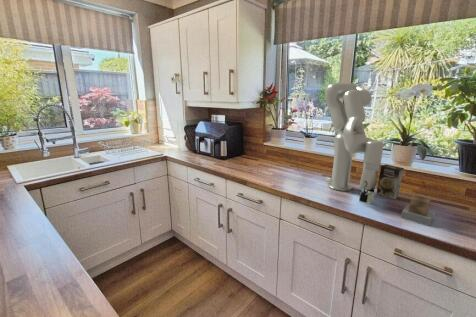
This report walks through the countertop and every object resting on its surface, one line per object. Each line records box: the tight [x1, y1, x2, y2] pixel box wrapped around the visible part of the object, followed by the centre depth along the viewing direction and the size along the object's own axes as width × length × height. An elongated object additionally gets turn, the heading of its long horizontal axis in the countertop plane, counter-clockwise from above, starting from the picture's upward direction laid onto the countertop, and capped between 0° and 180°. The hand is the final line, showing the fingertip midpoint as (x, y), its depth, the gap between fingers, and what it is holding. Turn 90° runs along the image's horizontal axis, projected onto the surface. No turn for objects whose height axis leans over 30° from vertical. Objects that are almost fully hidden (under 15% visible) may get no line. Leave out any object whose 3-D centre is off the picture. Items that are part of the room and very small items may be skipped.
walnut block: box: [409, 194, 431, 216], centre depth 109 cm, size 6×6×6 cm
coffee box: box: [375, 164, 405, 200], centre depth 134 cm, size 9×6×16 cm
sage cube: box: [358, 190, 375, 205], centre depth 127 cm, size 5×5×5 cm
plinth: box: [400, 204, 435, 227], centre depth 110 cm, size 10×10×3 cm
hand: (366, 199), depth 127 cm, fingers open, 8 cm apart
